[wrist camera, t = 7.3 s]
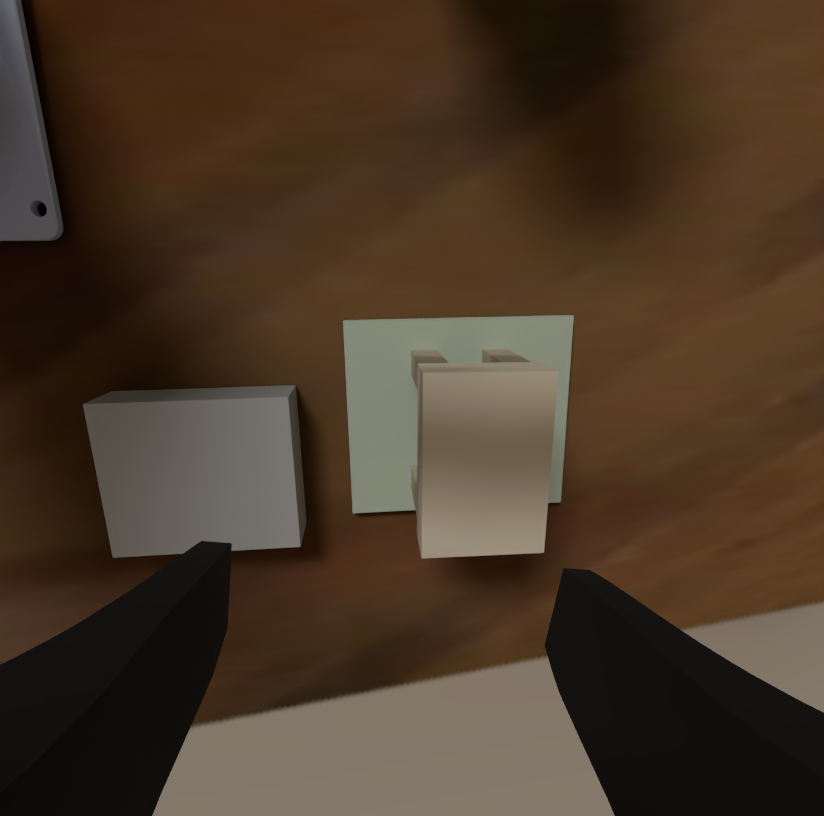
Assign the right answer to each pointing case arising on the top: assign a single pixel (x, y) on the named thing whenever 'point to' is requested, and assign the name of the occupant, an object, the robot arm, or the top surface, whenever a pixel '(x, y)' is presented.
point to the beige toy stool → (482, 453)
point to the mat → (398, 396)
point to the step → (198, 468)
